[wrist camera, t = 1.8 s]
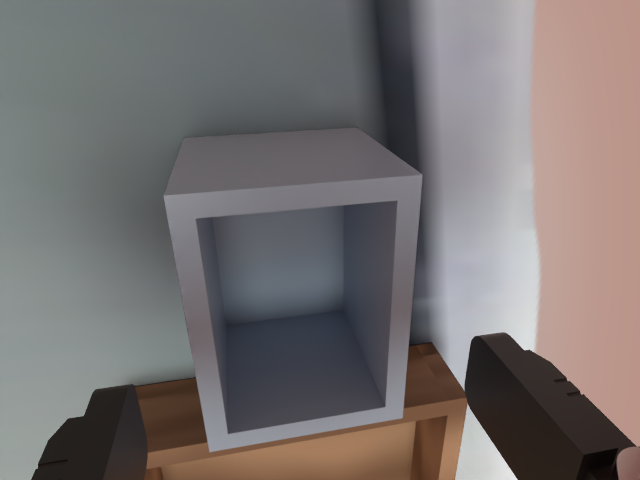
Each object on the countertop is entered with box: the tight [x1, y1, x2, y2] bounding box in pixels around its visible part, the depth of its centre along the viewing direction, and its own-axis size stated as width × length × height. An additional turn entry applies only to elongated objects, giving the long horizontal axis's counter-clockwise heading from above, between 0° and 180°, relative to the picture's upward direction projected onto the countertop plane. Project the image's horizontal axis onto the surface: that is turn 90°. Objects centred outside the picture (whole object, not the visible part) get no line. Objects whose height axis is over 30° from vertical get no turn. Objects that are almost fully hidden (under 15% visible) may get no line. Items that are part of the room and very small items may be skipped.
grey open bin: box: [164, 127, 423, 452], centre depth 15 cm, size 8×6×6 cm
